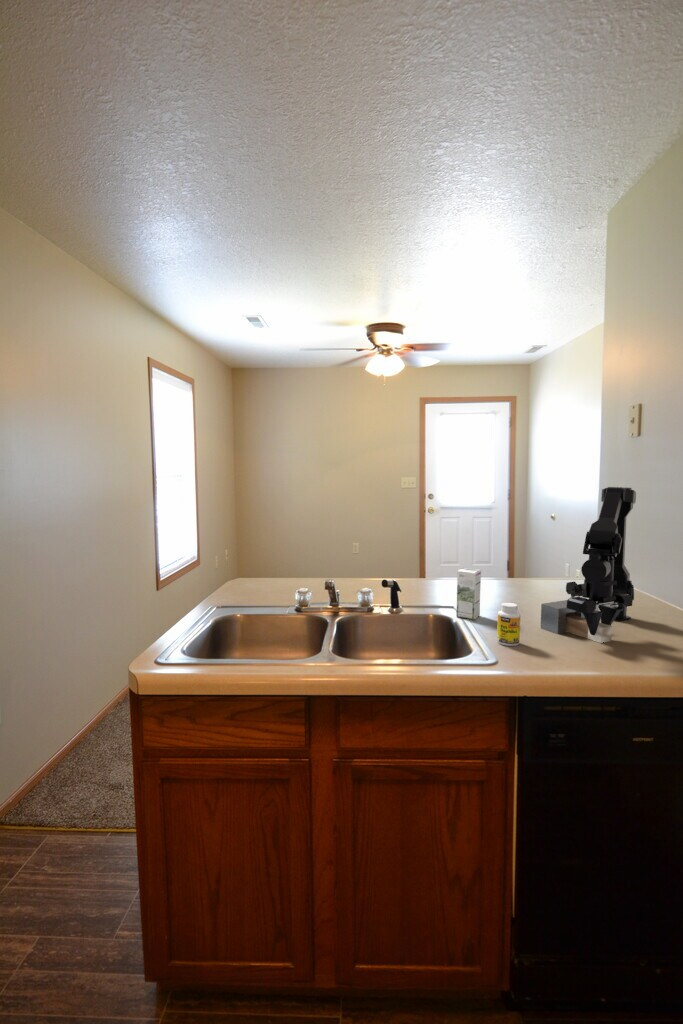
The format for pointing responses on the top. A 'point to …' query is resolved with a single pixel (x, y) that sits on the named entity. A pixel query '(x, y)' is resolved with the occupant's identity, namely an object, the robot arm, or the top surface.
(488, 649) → the top surface
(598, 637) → the plug rod
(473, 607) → the syrup box
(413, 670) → the top surface
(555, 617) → the grey u-shaped block
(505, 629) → the supplement bottle
